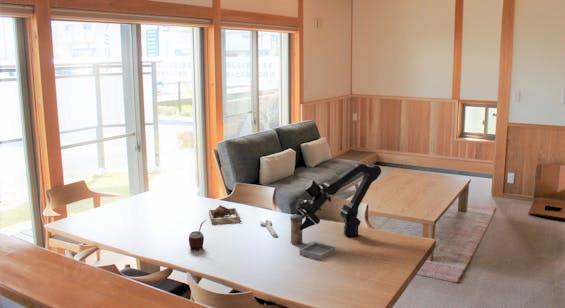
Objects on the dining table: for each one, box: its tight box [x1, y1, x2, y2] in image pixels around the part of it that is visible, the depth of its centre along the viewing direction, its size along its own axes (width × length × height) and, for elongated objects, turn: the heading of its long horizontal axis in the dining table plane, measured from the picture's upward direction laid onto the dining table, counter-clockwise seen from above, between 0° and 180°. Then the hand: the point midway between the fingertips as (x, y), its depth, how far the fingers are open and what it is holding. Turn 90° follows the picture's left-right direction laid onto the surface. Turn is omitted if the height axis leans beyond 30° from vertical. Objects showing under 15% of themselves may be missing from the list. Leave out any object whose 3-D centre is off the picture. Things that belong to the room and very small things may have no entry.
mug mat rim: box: [208, 207, 241, 225], centre depth 301 cm, size 16×18×3 cm
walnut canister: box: [289, 214, 304, 246], centre depth 260 cm, size 6×6×14 cm
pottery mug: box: [212, 204, 232, 218], centre depth 301 cm, size 12×10×8 cm
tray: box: [299, 241, 336, 261], centre depth 247 cm, size 13×12×2 cm
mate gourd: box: [188, 219, 207, 252], centre depth 253 cm, size 8×8×15 cm
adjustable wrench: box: [260, 219, 279, 238], centre depth 281 cm, size 25×6×2 cm, turn 10°
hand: (296, 227), depth 259 cm, fingers open, 9 cm apart
